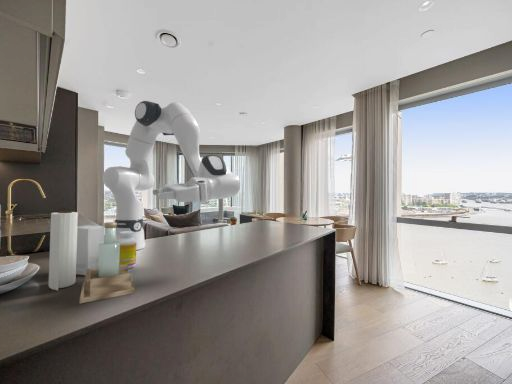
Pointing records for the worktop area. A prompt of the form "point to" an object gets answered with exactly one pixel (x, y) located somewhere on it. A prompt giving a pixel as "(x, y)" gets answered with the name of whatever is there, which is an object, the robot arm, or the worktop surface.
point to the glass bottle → (109, 252)
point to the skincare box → (88, 247)
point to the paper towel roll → (63, 249)
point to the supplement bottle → (127, 249)
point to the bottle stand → (106, 285)
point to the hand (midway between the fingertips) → (155, 194)
